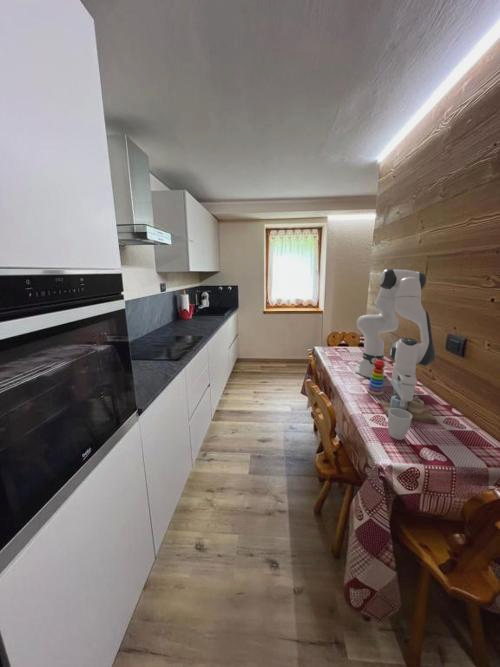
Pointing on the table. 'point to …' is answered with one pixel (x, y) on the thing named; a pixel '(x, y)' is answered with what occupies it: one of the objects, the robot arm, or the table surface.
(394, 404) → the loose gear
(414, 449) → the table surface
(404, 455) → the table surface
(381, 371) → the stacking toy
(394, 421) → the cup
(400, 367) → the robot arm
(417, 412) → the gear board
